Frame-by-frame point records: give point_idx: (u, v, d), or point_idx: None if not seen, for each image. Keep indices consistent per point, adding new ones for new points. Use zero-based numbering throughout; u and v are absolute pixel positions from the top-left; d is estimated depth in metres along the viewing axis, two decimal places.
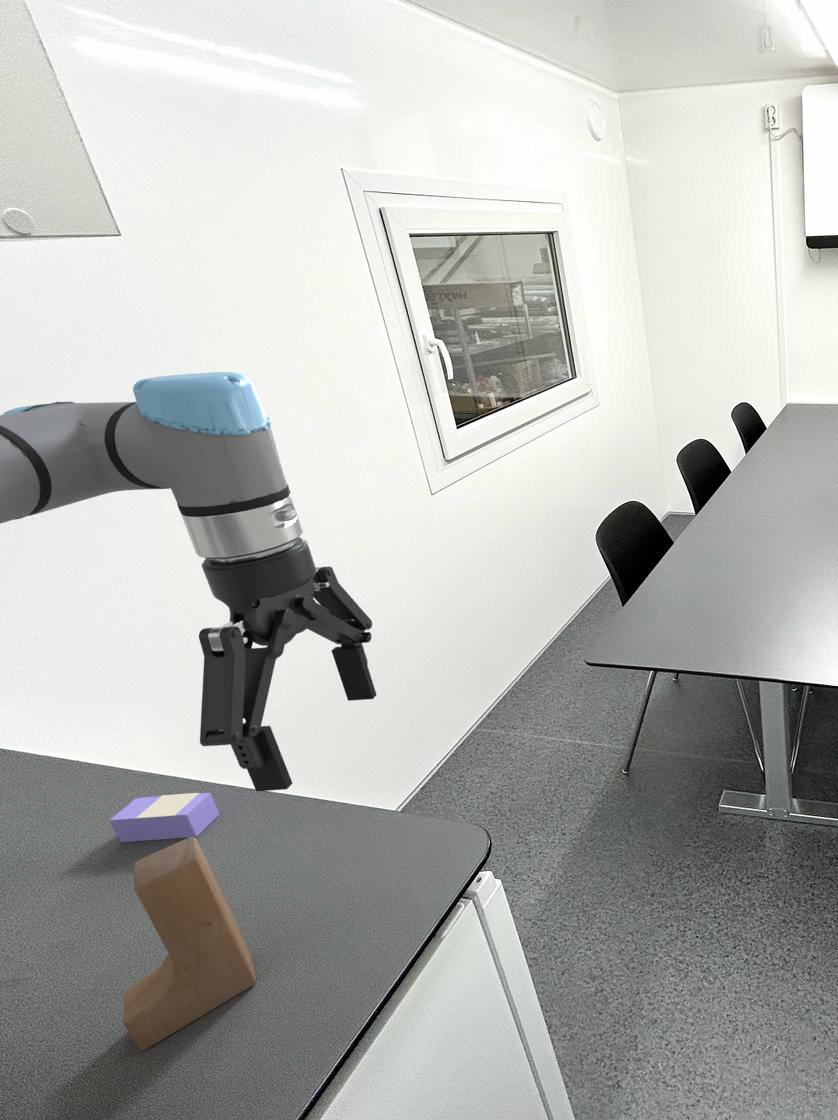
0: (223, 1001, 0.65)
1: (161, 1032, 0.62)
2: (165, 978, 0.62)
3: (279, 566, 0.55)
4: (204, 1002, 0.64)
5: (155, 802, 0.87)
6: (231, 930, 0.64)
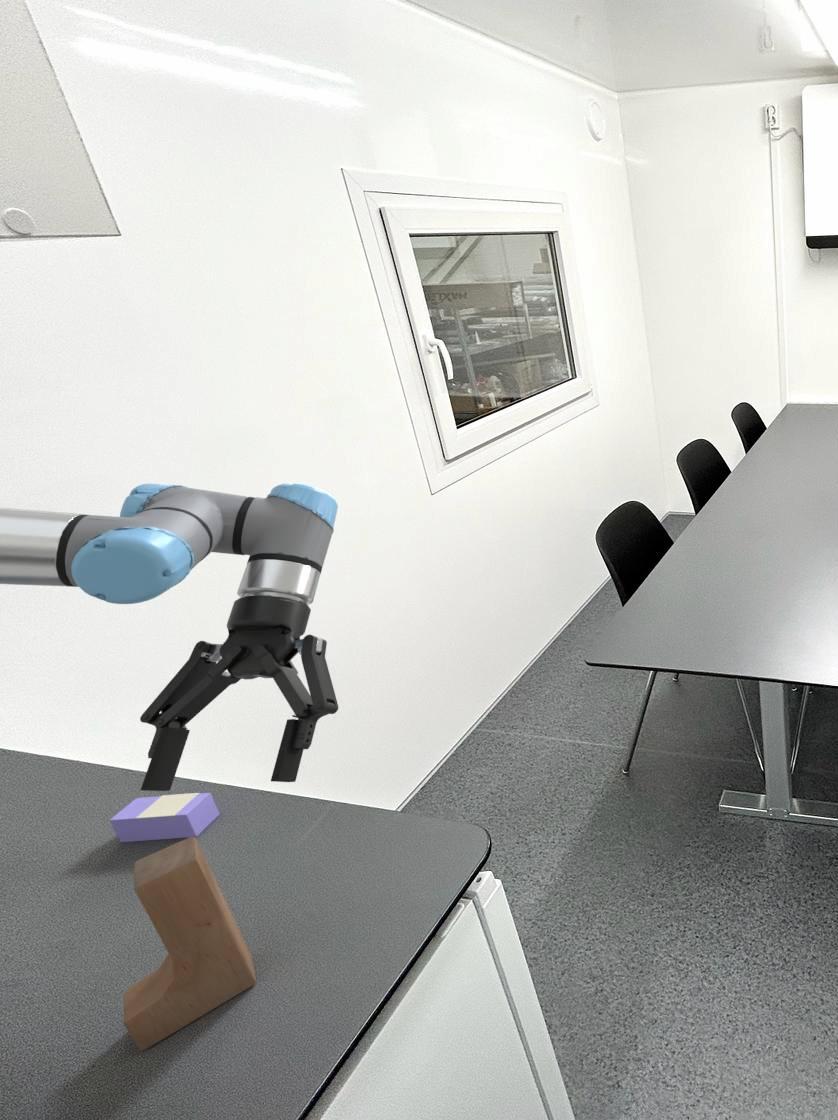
0: (223, 1001, 0.65)
1: (161, 1032, 0.62)
2: (165, 978, 0.62)
3: None
4: (204, 1002, 0.64)
5: (155, 802, 0.87)
6: (231, 930, 0.64)
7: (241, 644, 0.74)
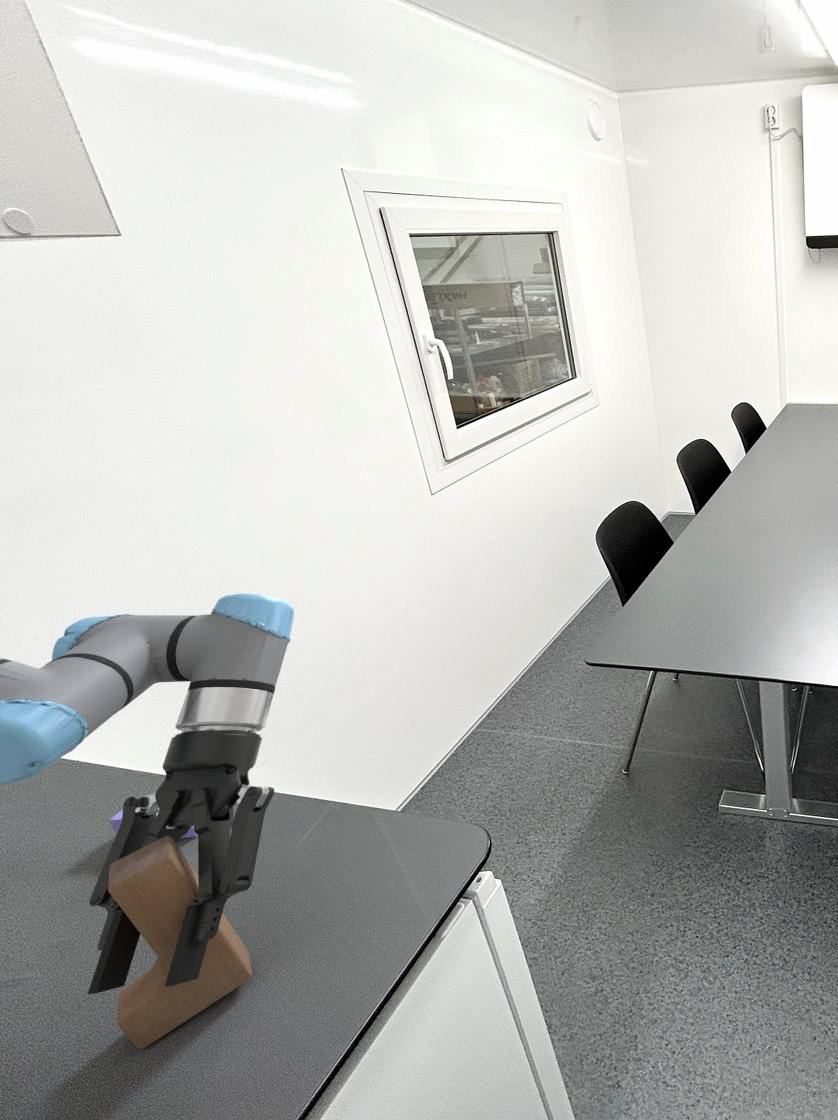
0: (219, 996, 0.65)
1: (158, 1030, 0.61)
2: (156, 977, 0.62)
3: None
4: (199, 998, 0.63)
5: None
6: None
7: (179, 787, 0.66)
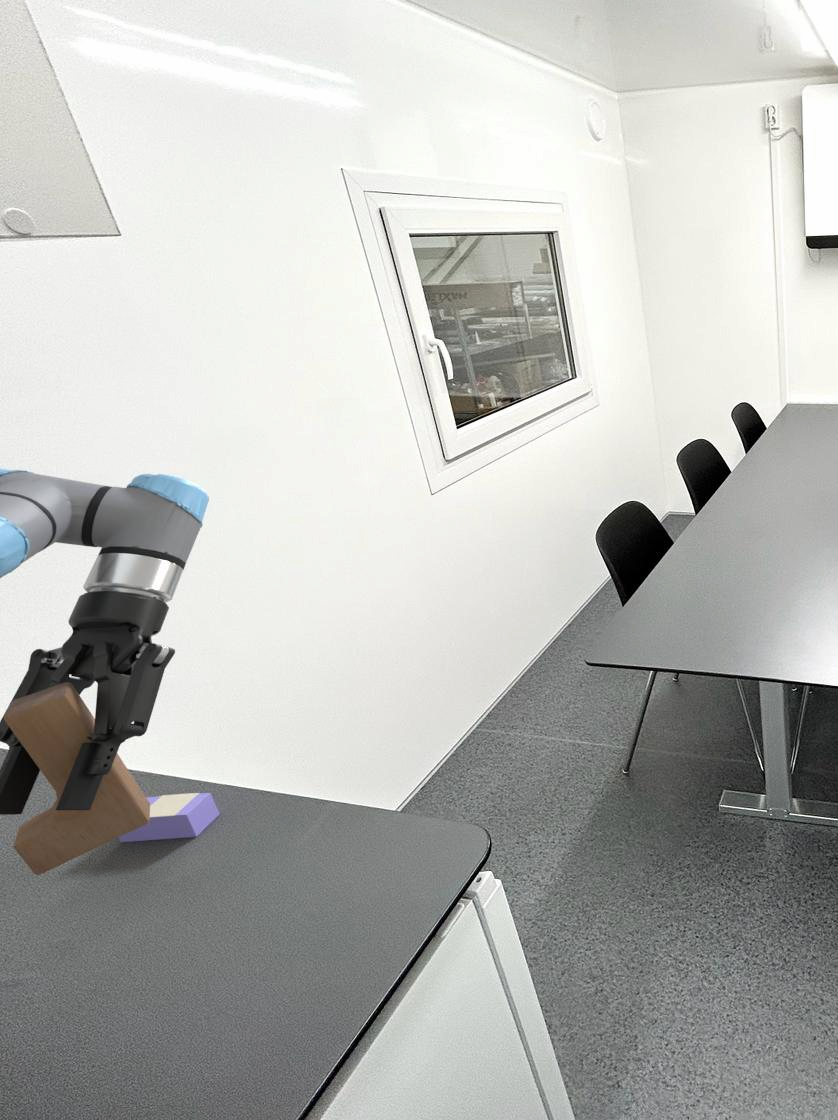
0: (116, 836, 0.69)
1: (54, 859, 0.66)
2: (53, 811, 0.67)
3: None
4: (95, 834, 0.68)
5: (155, 802, 0.87)
6: (114, 768, 0.69)
7: (84, 642, 0.70)
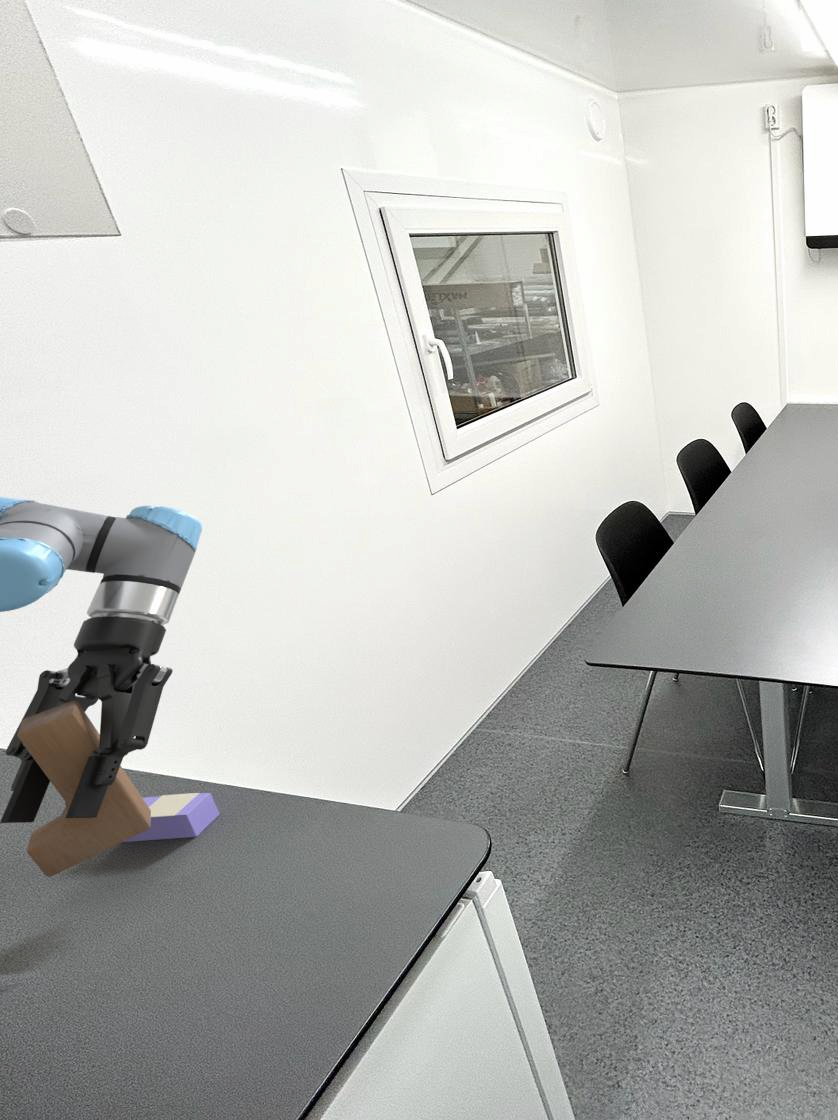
0: (120, 841, 0.76)
1: (64, 862, 0.73)
2: (63, 818, 0.73)
3: None
4: (101, 839, 0.75)
5: (155, 802, 0.87)
6: (118, 779, 0.75)
7: (88, 663, 0.77)
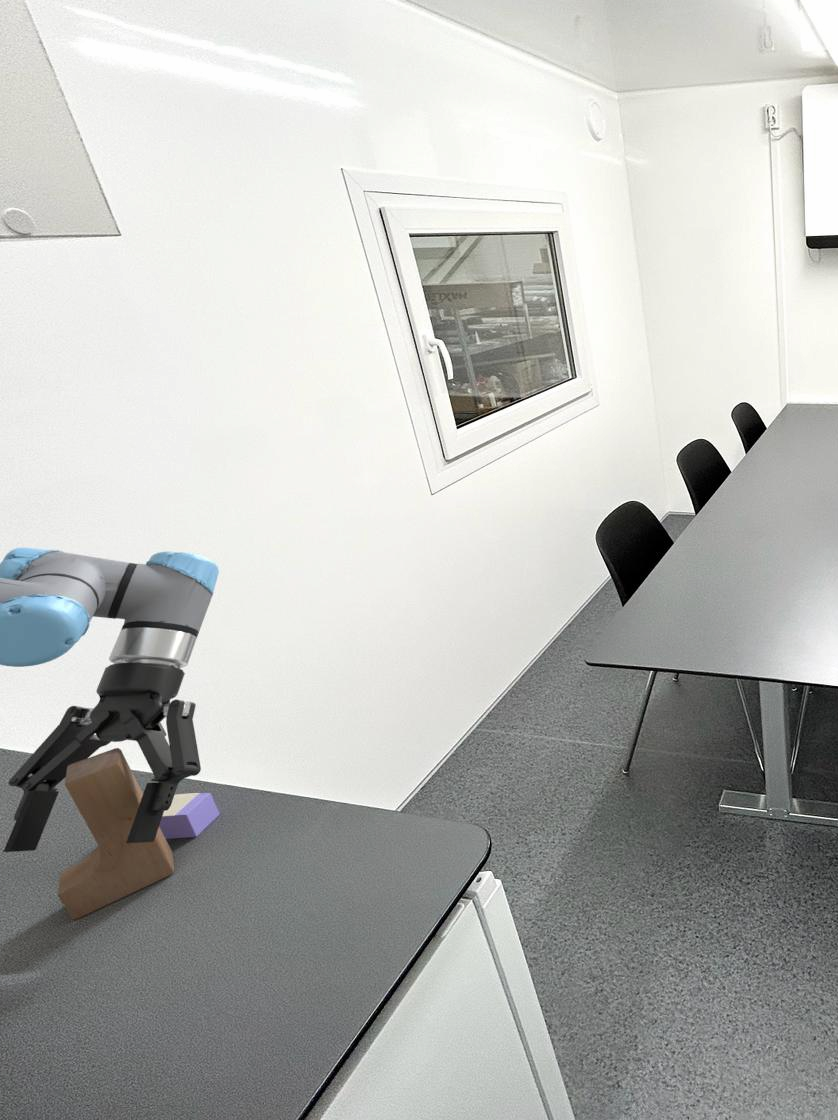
0: (144, 885, 0.78)
1: (90, 905, 0.75)
2: (94, 862, 0.76)
3: None
4: (127, 884, 0.77)
5: None
6: None
7: (110, 709, 0.79)
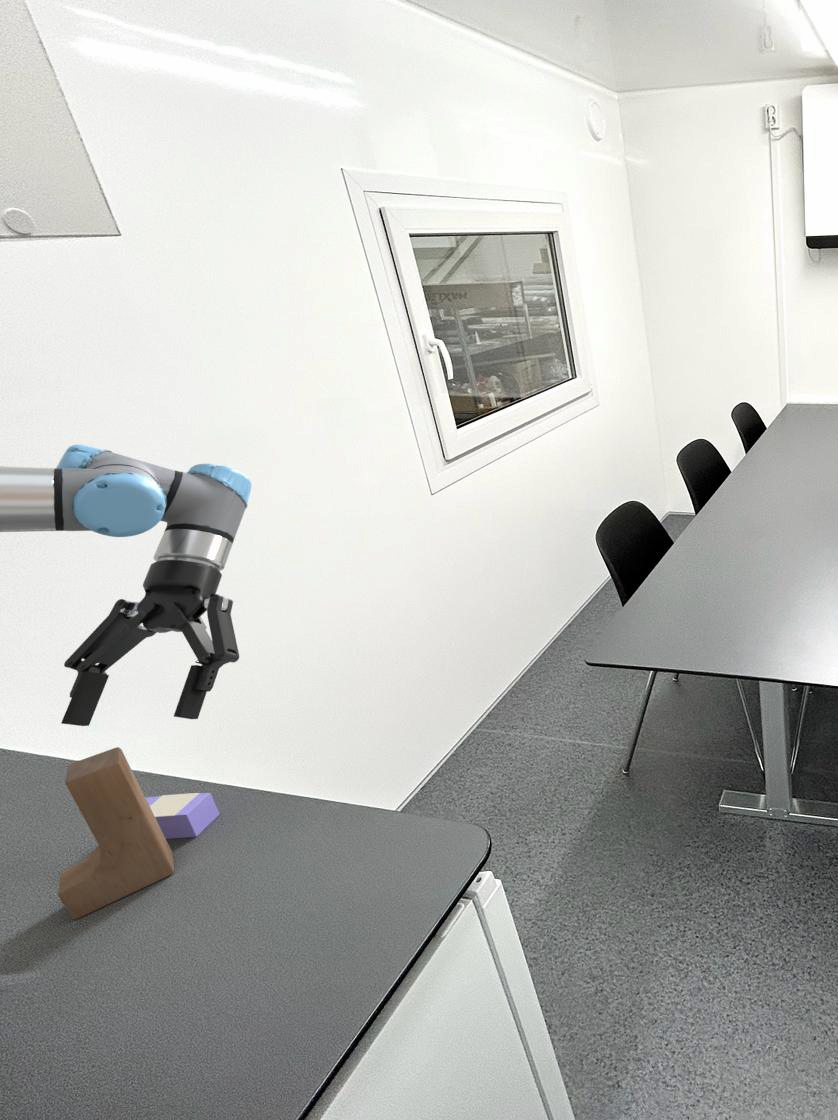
0: (144, 885, 0.78)
1: (90, 905, 0.75)
2: (94, 862, 0.76)
3: None
4: (127, 884, 0.77)
5: (155, 802, 0.87)
6: (150, 825, 0.78)
7: (155, 602, 0.85)
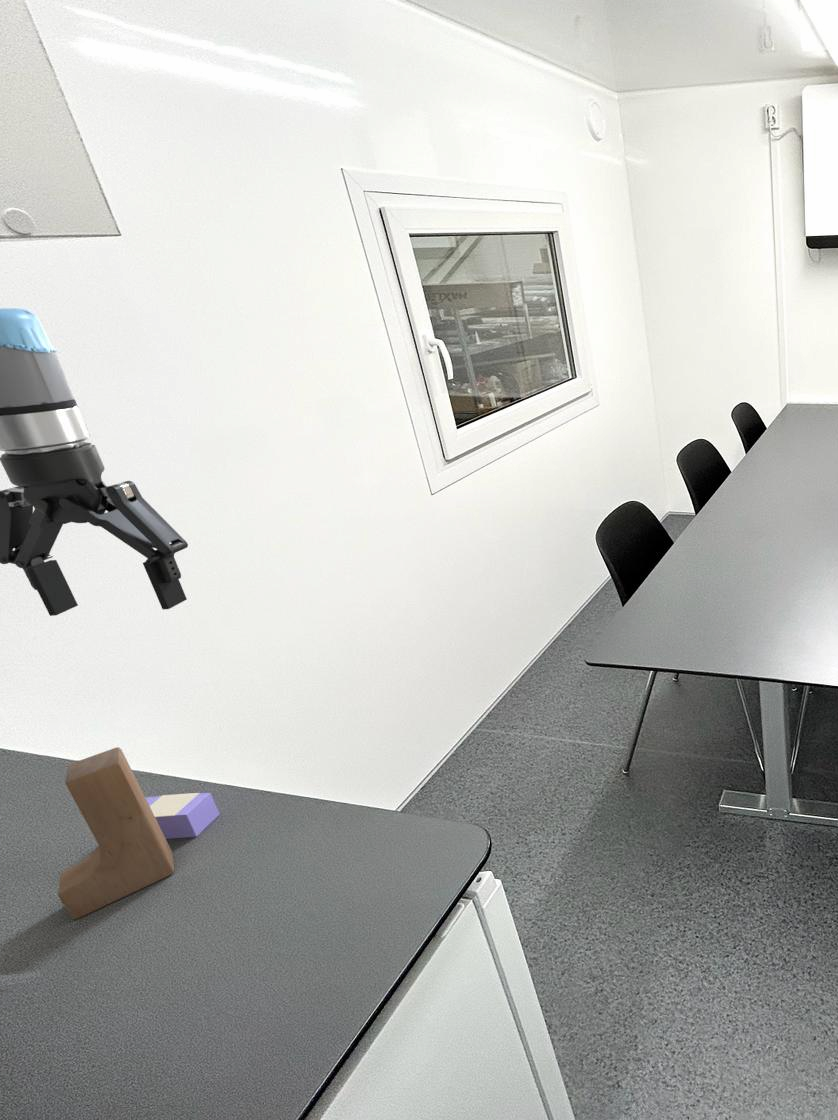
0: (144, 885, 0.78)
1: (90, 905, 0.75)
2: (94, 862, 0.76)
3: None
4: (127, 884, 0.77)
5: (155, 802, 0.87)
6: (150, 825, 0.78)
7: (43, 495, 0.74)
